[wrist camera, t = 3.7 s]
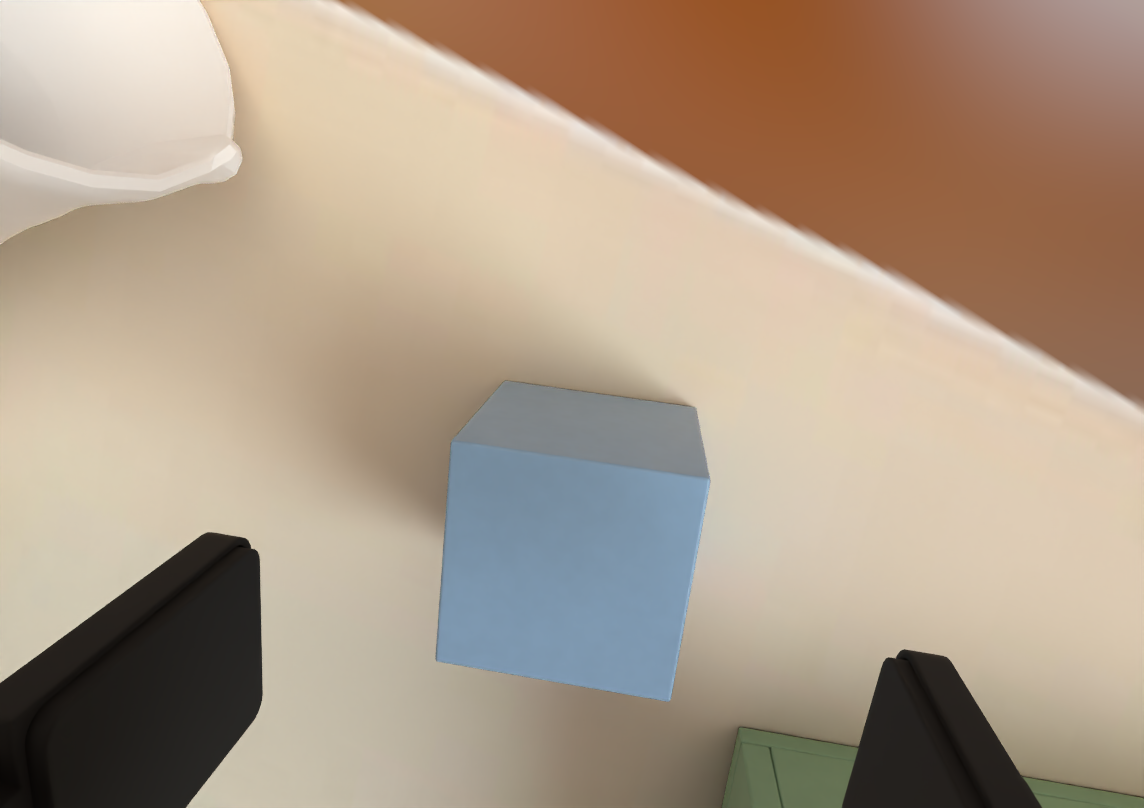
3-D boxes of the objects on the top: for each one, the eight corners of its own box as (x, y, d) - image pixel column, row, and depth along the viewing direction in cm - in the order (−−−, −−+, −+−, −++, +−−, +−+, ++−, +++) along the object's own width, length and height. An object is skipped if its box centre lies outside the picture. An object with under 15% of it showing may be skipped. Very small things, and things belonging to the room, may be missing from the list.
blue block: (488, 552, 20) (434, 662, 15) (503, 379, 18) (450, 439, 14) (666, 581, 19) (670, 703, 15) (696, 406, 18) (711, 479, 13)
